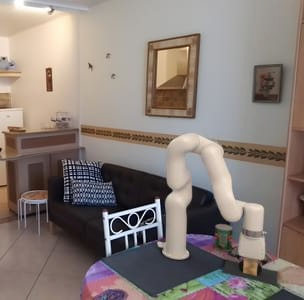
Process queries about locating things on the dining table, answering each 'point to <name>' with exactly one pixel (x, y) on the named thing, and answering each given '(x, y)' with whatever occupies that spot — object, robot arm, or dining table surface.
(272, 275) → the mat
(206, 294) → the dining table surface
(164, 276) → the dining table surface
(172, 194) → the robot arm
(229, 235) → the canned tomato
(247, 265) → the block
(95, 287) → the dining table surface
